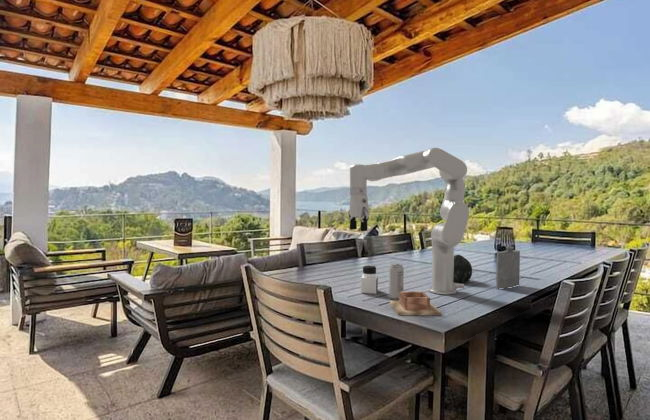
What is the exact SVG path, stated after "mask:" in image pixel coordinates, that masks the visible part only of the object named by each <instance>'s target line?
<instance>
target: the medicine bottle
mask: <svg viewBox="0 0 650 420" xmlns="http://www.w3.org/2000/svg"><path fill="white" fill-rule="evenodd" d="M378 276H379V275H377V267H376V266H375V265H372V264H371V265H369V264H368V265H364V266H363V267H362V276H361V277H360V293H361V294H371V295H372V294H374V295H375V294H376V295H377V293H378V286H379V283H378V281H379V277H378Z"/></svg>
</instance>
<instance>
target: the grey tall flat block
mask: <svg viewBox="0 0 650 420" xmlns="http://www.w3.org/2000/svg"><path fill="white" fill-rule="evenodd" d="M520 261H521V250H518V249H517V250H516V249H515V247H514V246H511V245H510V246H507V245H506V246H505V250H502V251H497V252H496V277H495V278H496V282H495V283H496V285H495V287H496V288H508V287H513V286H516V285H519V286H520V265H521V263H520Z"/></svg>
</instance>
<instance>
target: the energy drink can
mask: <svg viewBox="0 0 650 420" xmlns="http://www.w3.org/2000/svg"><path fill="white" fill-rule="evenodd" d="M388 271H389V277H388V279H389V280H388V281H389V282H388V290H389V291H388V296H389V298H390V300H391V301H399V292H404V266H403V263H399V262H392V263H390V266H389V268H388Z"/></svg>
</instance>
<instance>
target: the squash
mask: <svg viewBox="0 0 650 420" xmlns="http://www.w3.org/2000/svg"><path fill="white" fill-rule="evenodd" d="M472 275H473V266H472V264H471V262H470V261H469V260H468V259H467V258H465V257H464V256H463V255H461V254H456V255H455V254H454V274H453V282H455V283H459V284H463V283H465V282H469V281H470V279H471V278H472Z"/></svg>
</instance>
